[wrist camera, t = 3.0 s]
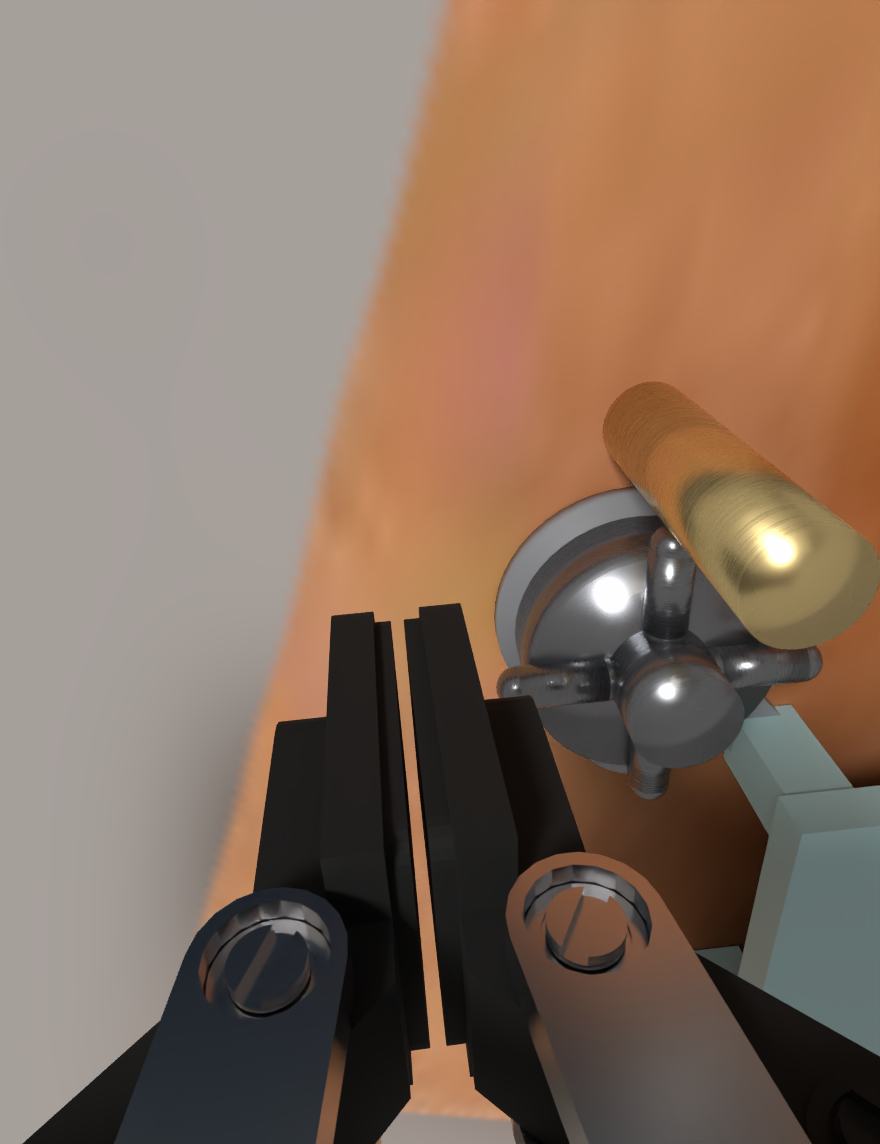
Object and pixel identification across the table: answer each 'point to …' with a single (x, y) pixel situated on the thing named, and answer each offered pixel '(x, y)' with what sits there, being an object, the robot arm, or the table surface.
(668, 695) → the cross handle valve
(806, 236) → the table surface
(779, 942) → the spoked knob panel
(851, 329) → the table surface
